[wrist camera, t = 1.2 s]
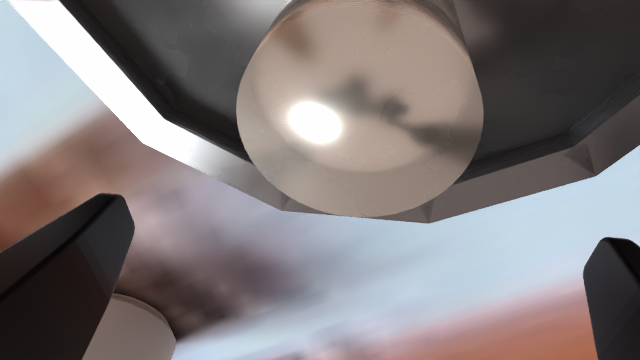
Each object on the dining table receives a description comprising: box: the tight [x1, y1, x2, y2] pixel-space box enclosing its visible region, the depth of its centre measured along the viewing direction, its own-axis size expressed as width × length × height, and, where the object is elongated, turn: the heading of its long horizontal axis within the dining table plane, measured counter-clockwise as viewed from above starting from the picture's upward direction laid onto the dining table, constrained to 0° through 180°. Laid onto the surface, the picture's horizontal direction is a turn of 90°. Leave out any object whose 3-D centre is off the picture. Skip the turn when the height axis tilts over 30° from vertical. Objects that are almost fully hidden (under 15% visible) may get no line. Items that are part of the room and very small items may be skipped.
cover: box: [236, 0, 484, 217], centre depth 13 cm, size 6×6×5 cm
